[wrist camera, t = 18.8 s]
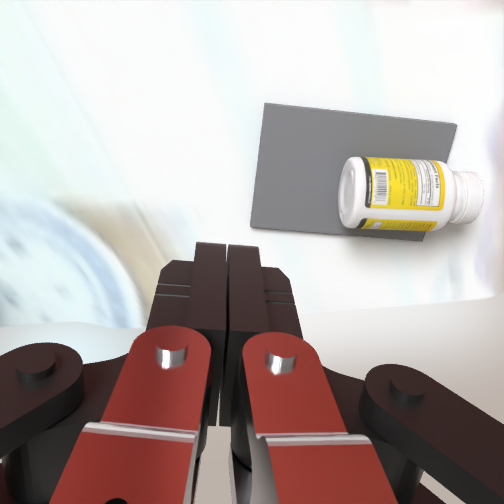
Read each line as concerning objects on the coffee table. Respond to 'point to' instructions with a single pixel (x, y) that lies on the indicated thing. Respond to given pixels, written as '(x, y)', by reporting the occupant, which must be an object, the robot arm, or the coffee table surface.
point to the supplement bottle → (406, 194)
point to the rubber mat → (331, 163)
